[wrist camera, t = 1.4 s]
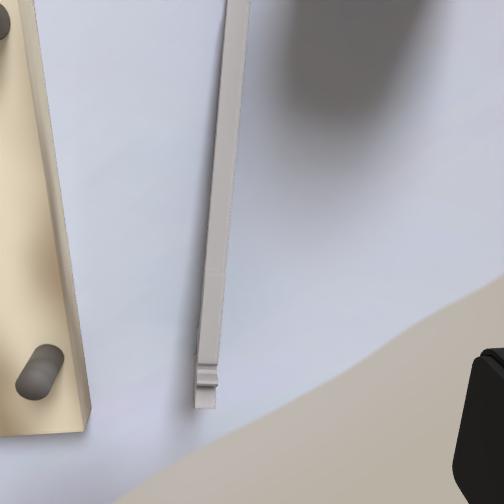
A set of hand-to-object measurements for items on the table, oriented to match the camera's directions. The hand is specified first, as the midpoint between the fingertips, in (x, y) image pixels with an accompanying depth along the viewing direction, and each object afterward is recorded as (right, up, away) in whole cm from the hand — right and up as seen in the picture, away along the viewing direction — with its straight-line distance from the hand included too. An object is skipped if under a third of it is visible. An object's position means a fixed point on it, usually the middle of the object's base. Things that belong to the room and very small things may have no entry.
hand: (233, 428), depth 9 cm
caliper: (-1, +6, +16) cm, 18 cm away
